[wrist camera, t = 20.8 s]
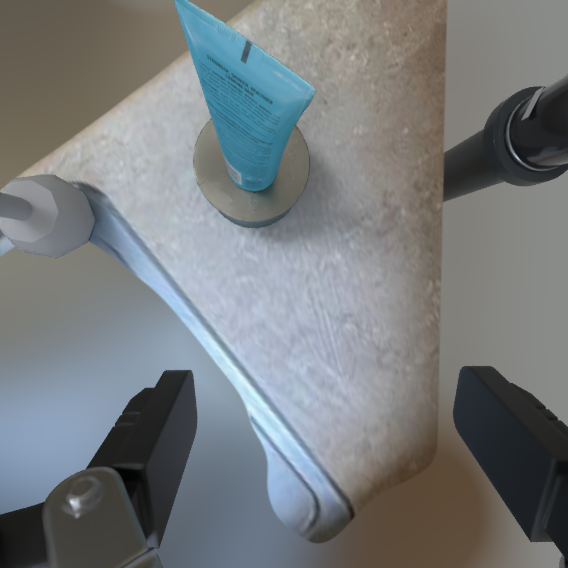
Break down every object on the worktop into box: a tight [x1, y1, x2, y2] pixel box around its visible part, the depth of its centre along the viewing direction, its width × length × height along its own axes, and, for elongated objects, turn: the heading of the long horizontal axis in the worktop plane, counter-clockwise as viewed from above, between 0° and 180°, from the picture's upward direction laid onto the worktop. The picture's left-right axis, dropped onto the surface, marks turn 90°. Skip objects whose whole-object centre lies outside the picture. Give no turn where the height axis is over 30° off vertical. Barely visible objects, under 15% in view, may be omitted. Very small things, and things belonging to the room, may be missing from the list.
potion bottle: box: [0, 175, 95, 258], centre depth 32 cm, size 9×9×18 cm
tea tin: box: [193, 119, 310, 228], centre depth 39 cm, size 11×11×8 cm
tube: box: [174, 0, 316, 191], centre depth 25 cm, size 7×5×19 cm, turn 63°
